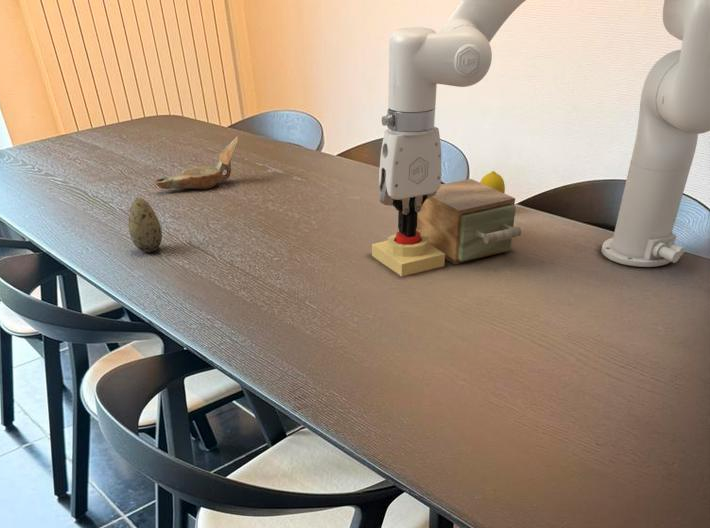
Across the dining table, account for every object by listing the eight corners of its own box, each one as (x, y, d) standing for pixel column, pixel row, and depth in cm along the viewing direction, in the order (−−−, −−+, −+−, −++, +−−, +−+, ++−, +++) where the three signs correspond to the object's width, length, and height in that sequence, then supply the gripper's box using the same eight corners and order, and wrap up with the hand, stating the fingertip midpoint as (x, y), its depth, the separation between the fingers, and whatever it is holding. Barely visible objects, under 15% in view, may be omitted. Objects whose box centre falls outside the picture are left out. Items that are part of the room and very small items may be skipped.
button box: (444, 266, 121) (445, 244, 119) (401, 276, 118) (402, 254, 116) (412, 246, 129) (413, 225, 126) (371, 255, 126) (371, 234, 123)
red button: (424, 245, 121) (425, 235, 119) (403, 250, 119) (403, 240, 118) (412, 237, 124) (412, 227, 122) (391, 242, 122) (391, 232, 121)
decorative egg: (128, 255, 129) (115, 201, 123) (145, 244, 134) (133, 191, 127) (154, 258, 128) (142, 204, 121) (171, 247, 132) (160, 194, 126)
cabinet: (508, 251, 125) (515, 198, 119) (454, 264, 122) (458, 210, 115) (466, 229, 135) (471, 178, 129) (415, 240, 131) (417, 189, 125)
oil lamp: (248, 185, 161) (243, 139, 155) (160, 199, 155) (151, 152, 148) (238, 175, 167) (232, 131, 161) (152, 189, 161) (143, 143, 154)
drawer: (526, 257, 121) (532, 213, 116) (476, 270, 117) (480, 225, 112) (471, 228, 132) (475, 187, 127) (424, 239, 129) (426, 197, 124)
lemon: (501, 216, 140) (506, 175, 135) (475, 215, 141) (478, 174, 136) (502, 207, 144) (507, 167, 139) (476, 206, 145) (480, 167, 140)
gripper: (382, 131, 103) (381, 249, 115) (463, 119, 108) (453, 233, 120) (359, 121, 108) (360, 235, 120) (437, 110, 113) (431, 220, 125)
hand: (407, 233), depth 120 cm, fingers closed
